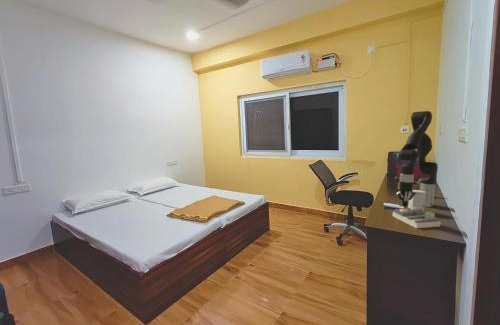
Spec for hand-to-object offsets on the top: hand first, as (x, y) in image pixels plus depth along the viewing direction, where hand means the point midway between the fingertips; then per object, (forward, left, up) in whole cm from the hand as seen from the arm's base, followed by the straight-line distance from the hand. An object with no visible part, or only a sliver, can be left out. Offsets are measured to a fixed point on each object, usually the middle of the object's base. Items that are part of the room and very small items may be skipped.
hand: (404, 206), depth 158 cm
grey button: (0, +8, -4) cm, 9 cm away
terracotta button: (0, 0, -5) cm, 5 cm away
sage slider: (+11, +8, -5) cm, 14 cm away
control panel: (+5, +4, -8) cm, 10 cm away
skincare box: (-11, +19, -9) cm, 23 cm away
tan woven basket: (-50, +46, -9) cm, 68 cm away
